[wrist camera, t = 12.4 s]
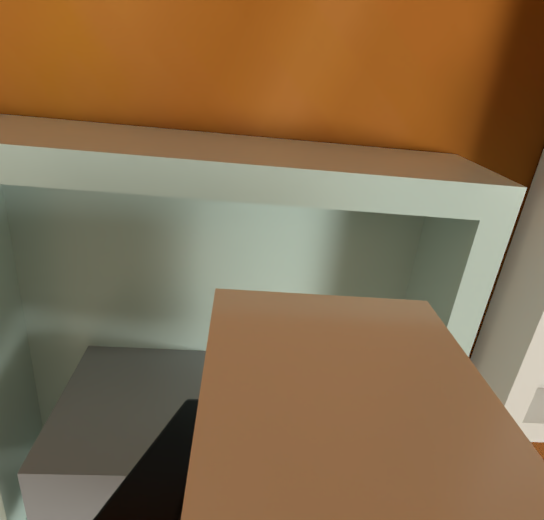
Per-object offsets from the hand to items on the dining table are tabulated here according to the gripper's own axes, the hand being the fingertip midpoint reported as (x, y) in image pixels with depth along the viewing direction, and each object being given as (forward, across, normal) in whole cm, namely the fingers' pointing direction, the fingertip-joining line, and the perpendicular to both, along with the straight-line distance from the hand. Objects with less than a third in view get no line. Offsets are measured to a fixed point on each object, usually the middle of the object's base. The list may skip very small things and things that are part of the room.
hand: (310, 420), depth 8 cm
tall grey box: (+5, +4, +5) cm, 8 cm away
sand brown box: (+1, 0, 0) cm, 1 cm away
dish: (+6, +2, +2) cm, 7 cm away
